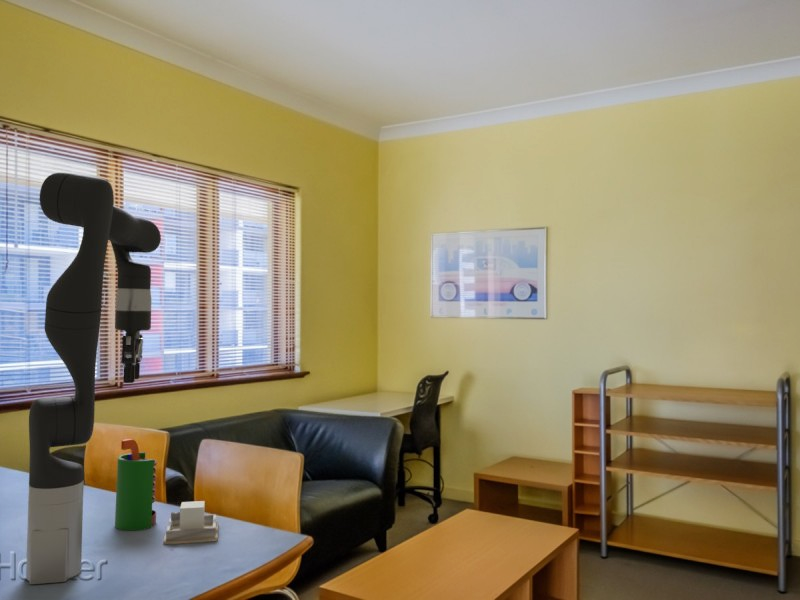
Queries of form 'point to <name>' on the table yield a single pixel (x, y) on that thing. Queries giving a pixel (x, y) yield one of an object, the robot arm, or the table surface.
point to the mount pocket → (192, 532)
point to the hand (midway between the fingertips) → (131, 380)
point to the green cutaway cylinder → (135, 489)
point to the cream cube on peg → (190, 515)
